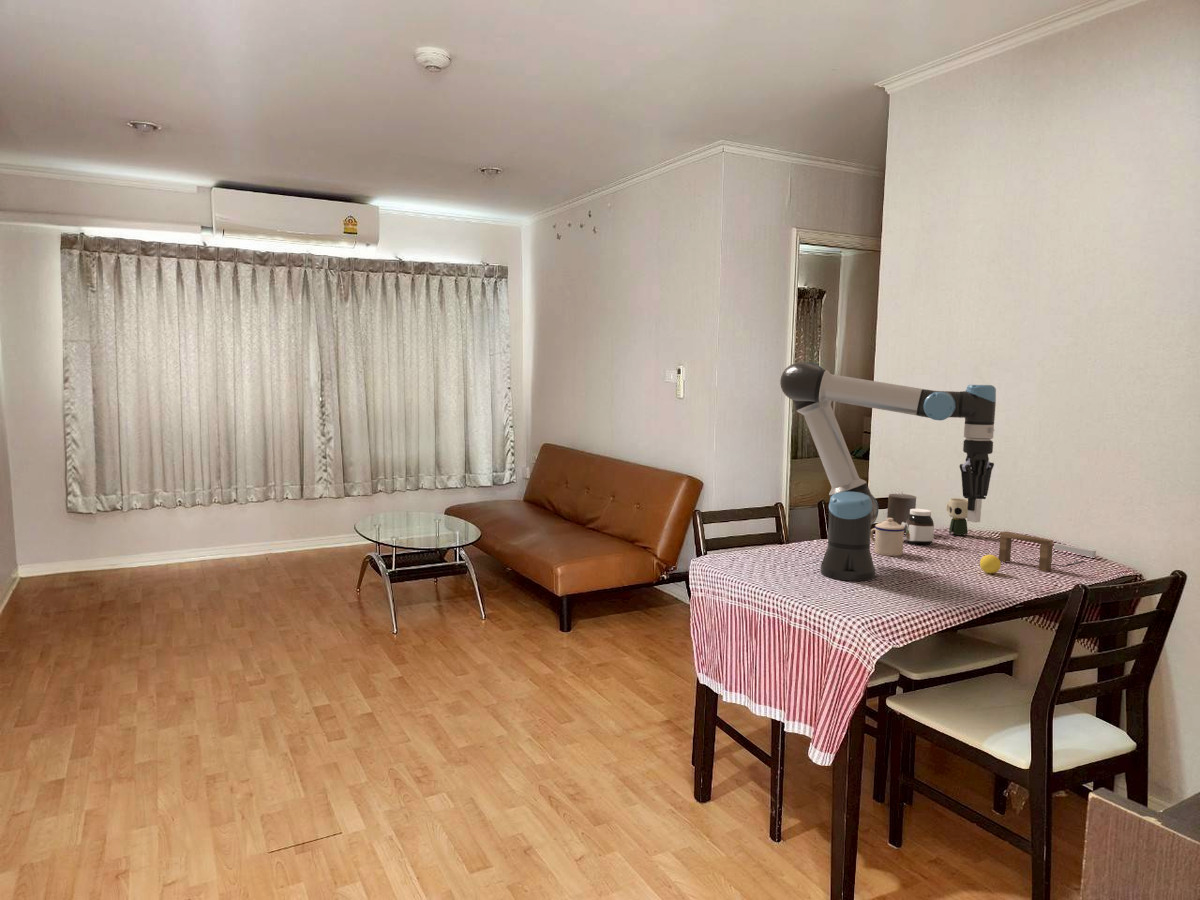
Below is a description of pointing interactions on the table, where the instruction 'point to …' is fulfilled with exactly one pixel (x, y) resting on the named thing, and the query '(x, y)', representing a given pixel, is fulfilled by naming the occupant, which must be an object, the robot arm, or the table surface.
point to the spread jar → (919, 527)
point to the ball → (990, 564)
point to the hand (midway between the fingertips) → (973, 521)
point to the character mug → (958, 515)
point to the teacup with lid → (888, 538)
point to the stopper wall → (1075, 550)
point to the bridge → (1045, 544)
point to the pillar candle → (900, 507)
